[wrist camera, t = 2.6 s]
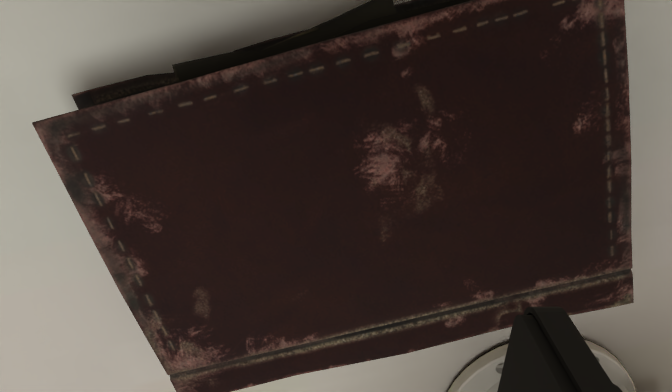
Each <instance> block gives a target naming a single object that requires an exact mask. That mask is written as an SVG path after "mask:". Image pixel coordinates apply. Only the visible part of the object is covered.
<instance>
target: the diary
mask: <svg viewBox="0 0 672 392" xmlns="http://www.w3.org/2000/svg"><path fill="white" fill-rule="evenodd" d="M172 66H173V69H174V73H165V74H155V75H146V76H142V77H138V78H134V79H130V80H126V81H122V82H119V83H115V84H111V85H107V86H103V87H99V88H95V89H91V90H87V91H84V92H80V93H76V94H73V95H72V97H73V99H74V101H75V103H76V105H77V107H78V109H79V110H76V111H73V112H69V113H65V114H62V115H58V116H54V117H51V118H47V119H44V120H40V121H36V122H33V126H34V128H35V130H36V131H37V133H38V135H39V137H40V139H41V141H42V143H43V145H44V147H45V149H46V151H47V152H48V154H49V156H50V158H51V160H52V162H53V164H54V166H55V168H56V170H57V172H58V174H59V176H60V178H61V180H62V182H63V183H64V185H65V187H66V189H67V191H68V193H69V195H70V197H71V199H72V201H73V203H74V205H75V207H76V209H77V211H78V213H79V215H80V216H81V218H82V220H83V222H84V224H85V226H86V228H87V230H88V232H89V234H90V236H91V237H92V239H93V241H94V243H95V245H96V247H97V249H98V251H99V253H100V255H101V256H102V258H103V260H104V262H105V264H106V266H107V268H108V270H109V272H110V274H111V275H112V277H113V279H114V281H115V283H116V285H117V287H118V289H119V291H120V292H121V294H122V296H123V298H124V299H125V301H126V303H127V305H128V306H129V308H130V310H131V312H132V313H133V315H134V317H135V319H136V321H137V322H138V324H139V326H140V328H141V329H142V331H143V333H144V335H145V336H146V338H147V340H148V342H149V343H150V345H151V347H152V349H153V350H154V352H155V354H156V356H157V357H158V359H159V361H160V362H161V364H162V366H163V368H164V369H165V371H166V373H167V374H168V375H170V380H171V382H172V384H173V386H174V388H175V390H176V392H231V391H235V390H239V389H243V388H247V387H251V386H255V385H259V384H263V383H267V382H271V381H275V380H279V379H283V378H287V377H291V376H295V375H299V374H304V373H309V372H314V371H319V370H324V369H329V368H334V367H339V366H345V365H350V364H355V363H360V362H365V361H370V360H375V359H380V358H385V357H390V356H395V355H400V354H405V353H410V352H413V351H417V350H421V349H425V348H429V347H433V346H437V345H441V344H445V343H449V342H453V341H457V340H461V339H464V338H468V337H472V336H476V335H480V334H484V333H488V332H492V331H496V330H500V329H504V328H508V327H512V326H513V322H514V319H515V317H516V316H517V315H523V314H524V311H525V309H526V308H527V307H561V308H563V309H564V310H565V312H566V313H567V314H568V316H569V315H574V314H579V313H584V312H590V311H595V310H600V309H605V308H611V307H616V306H620V305H625V304H629V303H633V274H632V271H631V268H632V242H631V140H630V108H629V77H628V60H627V43H626V26H625V9H624V0H411V1H408V2H404V3H401V4H397V5H394V3H393V0H372V1H369V2H367V3H365V4H363V5H361V6H359V7H357V8H355V9H353V10H351V11H348V12H346V13H344V14H342V15H340V16H338V17H336V18H334V19H332V20H329V21H327V22H325V23H323V24H320V25H318V26H316V27H313V28H311V29H308V30H305V31H301V32H297V33H293V34H289V35H286V36H282V37H278V38H274V39H270V40H267V41H264V42H261V43H257V44H254V45H251V46H248V47H245V48H242V49H239V50H236V51H232V52H230V53H226V54H221V55H216V56H212V57H207V58H202V59H198V60H193V61H188V62H184V63H179V64H175V65H172Z"/></svg>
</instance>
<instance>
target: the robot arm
mask: <svg viewBox="0 0 672 392" xmlns="http://www.w3.org/2000/svg"><path fill="white" fill-rule="evenodd" d="M448 392H636V390H635V386H634V383H633V381H632V380H631V378H630V376H629V374H628V373H627V371H626V370H625V369H624V367H623V366H622V365H621V363H620V362H619V361H618V359H617V358H616V357H615V356H613V355H612V354H611V353H609V352H608V351H607V350H606V349H604V348H602V347H600V346H598V345H596V344H594V343H592V342H590V341H586V340H584V339H583V337H582V336H581V334H580V333H579V331H578V330H577V328H576V327H575V325H574V324H573V322H572V321H571V319H570V317H569V316H568V314H567V313H566V312H565V310H564V309H563V308H561V307H527V308H526V309H525V311H524V314H523V315H517V316H516V317H515V319H514V322H513V326H512V330H511V335H510V339H509V343H508V344H506V345H503V346H500V347H498V348H496V349H494V350H492V351H490V352H489V353H487V354H485V355H483V356H481V357H480V358H478V359H477V360H476V361H475V362H473V363H472V364H471V365H470V366H468V367H467V368H466V369H465V370H464V371H463V372H462V373H461V374H460V375H459V376H458V378H457V379H456V380H455V381H454V383H453V384H452V386H451V387H450V389H449V391H448Z"/></svg>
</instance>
